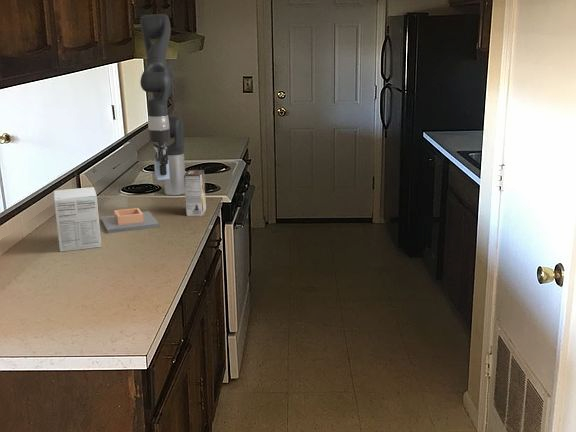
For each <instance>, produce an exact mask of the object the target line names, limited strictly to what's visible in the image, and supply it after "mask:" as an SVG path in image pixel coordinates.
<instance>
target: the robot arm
mask: <svg viewBox="0 0 576 432" xmlns="http://www.w3.org/2000/svg"><path fill="white" fill-rule="evenodd" d="M171 27H172V26H171V22H170V17H169V16H168V15H167V14H165V13H160V14H145V15H142V16H141V17H140V29H141V30H140V31H141V35H142V40H143V44H144V48H145V53H146V64H145V68H144V70H143V72H142V74H141V76H140V81H139V83H140V87H141V89H142V90H143V91H144V92H145V93H152V98H150V99H148V101H147V103H146V104H147V114H148V118H147V124H148V125H147V127H148V136H149V137H148V139H149V141H150V142H151V143H154V144H153V145H152V146H153V152H154V157H157V158H158V159H159V164H160V174H161V175H166V174H167V170H166V165H167V164H168V160H169V174H170V179H163V189H164V194H165V195H167V196H178V195H184V194H185V181H184V175H185V174H186V170H185V169H186V168H185V154H184V153H185V152H184V151H185V149H184V148H185V147H184V146H185V145H184V144H185V143H184V121H183V118H182V116H180V115H169V114H168V113H169V112H168V100H169V98H170V96H171V94H172V93H173V90H174V87H175V83H174V75H173V70H172V68H171V66H170V64H169V63H168V62H167V52H168V48H169V44H170V39H171V32H172V31H171V30H172V28H171ZM153 40H156V42H154V41H153ZM171 139H174V141H173V142H171V143H170V144H167V145H166V142H169V141H170V140H171ZM162 159H164V160H165V161H162Z"/></svg>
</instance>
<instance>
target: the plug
mask: <svg viewBox="0 0 576 432" xmlns="http://www.w3.org/2000/svg"><path fill="white" fill-rule="evenodd" d="M162 161H165V160H164V159H162ZM153 163H154V165H153V166H154V178H155V180H157V181H160V180H161V181H164V179H170V174H169V160H168V164H167V165H166V170H167V174H166V175H161V174H160V164H159V159H158V158H157V157H155V156H153Z"/></svg>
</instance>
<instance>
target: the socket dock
mask: <svg viewBox="0 0 576 432" xmlns="http://www.w3.org/2000/svg"><path fill="white" fill-rule="evenodd" d="M113 214H114V215H113ZM113 214H112V215H105V216H104V215H103V216H100V220H101V222H102V225H103V227H104V229H105V231H106V233H107V234H112V233H121V232H128V231H137V230H144V229H152V228H153V229H154V228H158V227H160V225H159V222H158V221H157V219H156V218H155V217H154V216H153V214H152V213H151V212H150V211H149V210H147V211H141V209H140V208H139V207H134V208H133V207H132V208H123V209H116V210H115V209H114V210H113Z"/></svg>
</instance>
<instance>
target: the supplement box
mask: <svg viewBox="0 0 576 432" xmlns="http://www.w3.org/2000/svg"><path fill="white" fill-rule="evenodd" d="M53 203H54V211H55V220H56V221H55V222H56V230H57V237H58V244H59V251H60V252H61V253H62V252H69V251H79V250H85V249H95V248H97V249H98V248H101V247H102V238H101V228H100V218H99V217H100V216H99V209H98V208H99V207H98V196H97V192H96V190H95V187H93V186H91V187H81V188H79V187H77V188H70V189H66V188H65V189H58V190H57V189H56V190H53Z"/></svg>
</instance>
